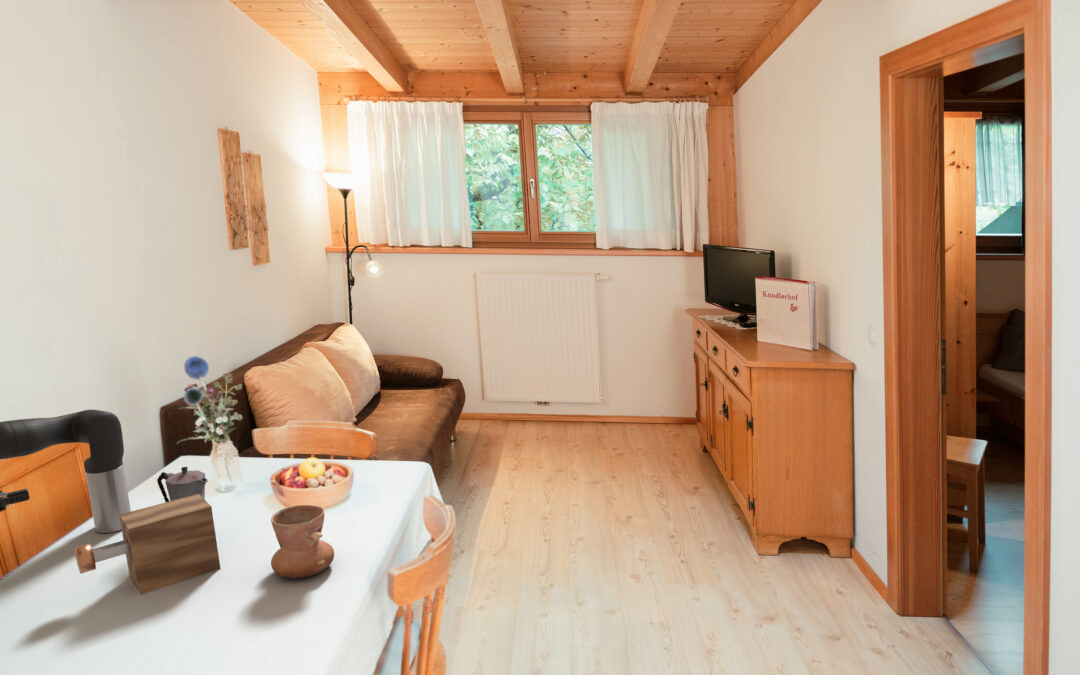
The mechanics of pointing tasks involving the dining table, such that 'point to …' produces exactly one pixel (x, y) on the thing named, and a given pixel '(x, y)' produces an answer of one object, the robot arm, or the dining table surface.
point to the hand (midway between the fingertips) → (28, 494)
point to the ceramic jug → (300, 542)
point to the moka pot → (182, 484)
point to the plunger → (98, 554)
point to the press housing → (170, 542)
